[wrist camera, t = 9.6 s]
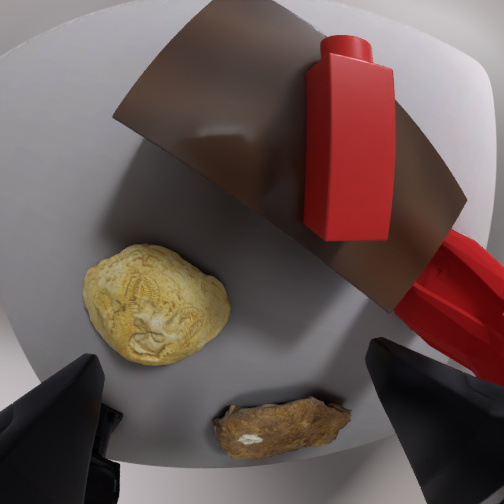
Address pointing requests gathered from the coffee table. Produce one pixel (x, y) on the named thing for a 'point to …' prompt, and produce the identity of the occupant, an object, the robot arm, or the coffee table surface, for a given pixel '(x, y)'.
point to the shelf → (283, 138)
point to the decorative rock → (278, 427)
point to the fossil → (154, 304)
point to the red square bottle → (349, 143)
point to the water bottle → (460, 306)
